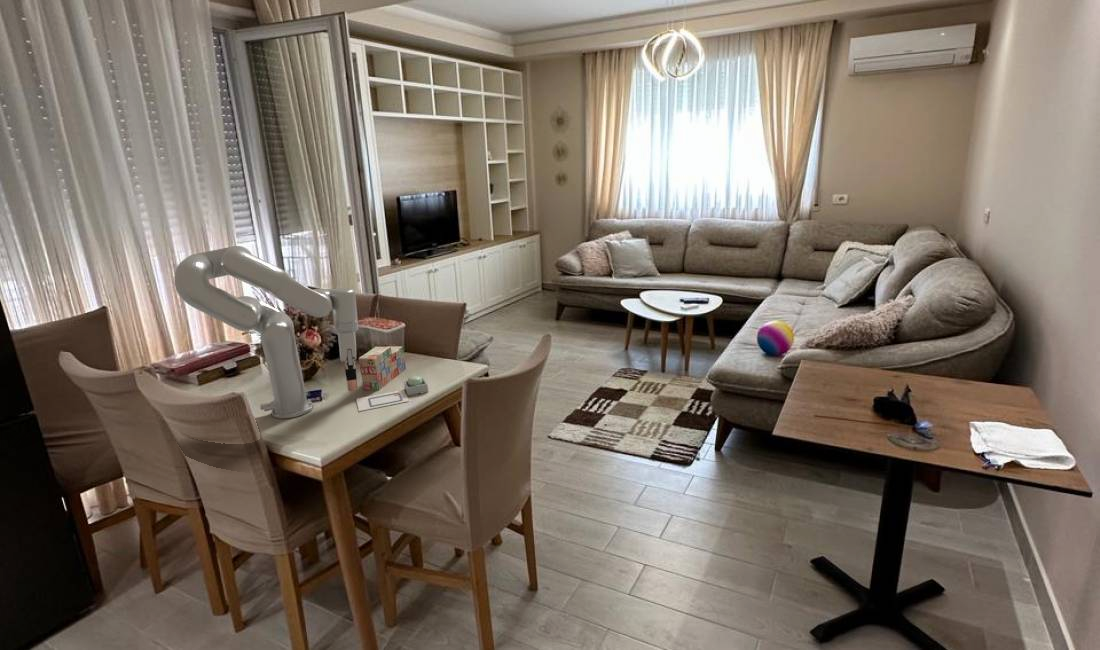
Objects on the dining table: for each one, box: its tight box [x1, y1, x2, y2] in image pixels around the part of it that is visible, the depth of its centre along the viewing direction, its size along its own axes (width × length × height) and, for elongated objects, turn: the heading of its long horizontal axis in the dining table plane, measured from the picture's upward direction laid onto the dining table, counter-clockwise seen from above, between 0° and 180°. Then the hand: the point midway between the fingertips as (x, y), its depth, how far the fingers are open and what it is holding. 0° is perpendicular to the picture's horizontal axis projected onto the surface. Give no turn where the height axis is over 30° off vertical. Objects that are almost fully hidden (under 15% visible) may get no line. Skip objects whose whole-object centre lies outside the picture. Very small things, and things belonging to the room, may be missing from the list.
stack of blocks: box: [358, 345, 407, 391], centre depth 212 cm, size 21×6×12 cm, turn 168°
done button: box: [407, 375, 423, 387], centre depth 200 cm, size 5×5×3 cm
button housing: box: [403, 377, 429, 397], centre depth 200 cm, size 7×7×3 cm
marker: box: [343, 358, 359, 392], centre depth 194 cm, size 3×3×12 cm
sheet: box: [355, 389, 410, 412], centre depth 194 cm, size 16×11×1 cm
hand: (351, 377), depth 195 cm, fingers closed on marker, 3 cm apart
